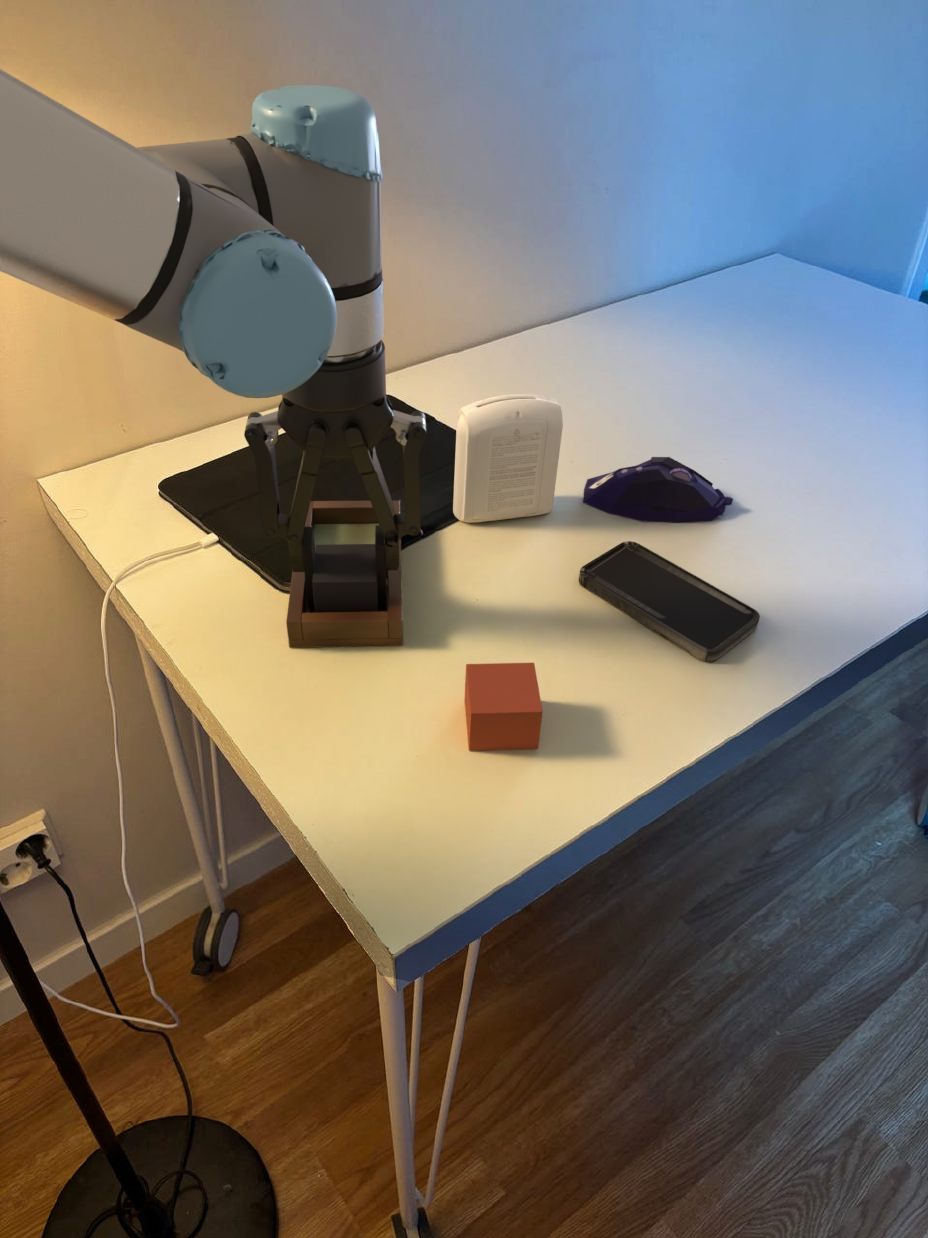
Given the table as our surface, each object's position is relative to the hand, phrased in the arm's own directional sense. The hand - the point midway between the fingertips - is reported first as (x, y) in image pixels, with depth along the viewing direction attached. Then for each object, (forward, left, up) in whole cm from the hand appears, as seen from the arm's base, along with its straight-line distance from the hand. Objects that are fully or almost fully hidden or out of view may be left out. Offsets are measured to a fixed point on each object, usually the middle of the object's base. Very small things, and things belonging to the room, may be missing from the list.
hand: (347, 596), depth 82 cm
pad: (+12, -14, -1) cm, 18 cm away
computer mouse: (+31, +17, -2) cm, 35 cm away
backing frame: (0, +4, -1) cm, 4 cm away
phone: (+28, 0, -2) cm, 28 cm away
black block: (0, 0, 0) cm, 0 cm away
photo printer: (+15, +15, -2) cm, 21 cm away
